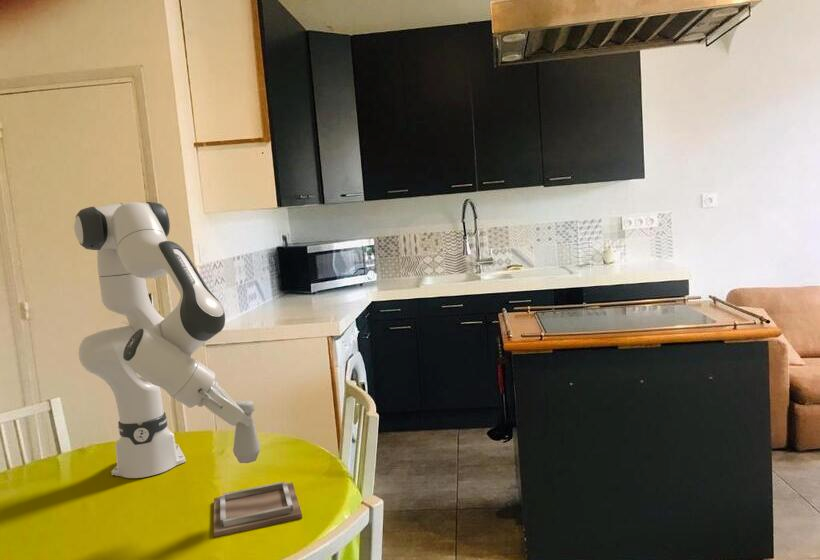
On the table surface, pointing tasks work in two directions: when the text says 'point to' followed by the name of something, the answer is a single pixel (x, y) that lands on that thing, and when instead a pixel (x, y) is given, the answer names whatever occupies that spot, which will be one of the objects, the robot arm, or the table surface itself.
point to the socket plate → (255, 508)
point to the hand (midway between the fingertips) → (247, 420)
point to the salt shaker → (246, 436)
